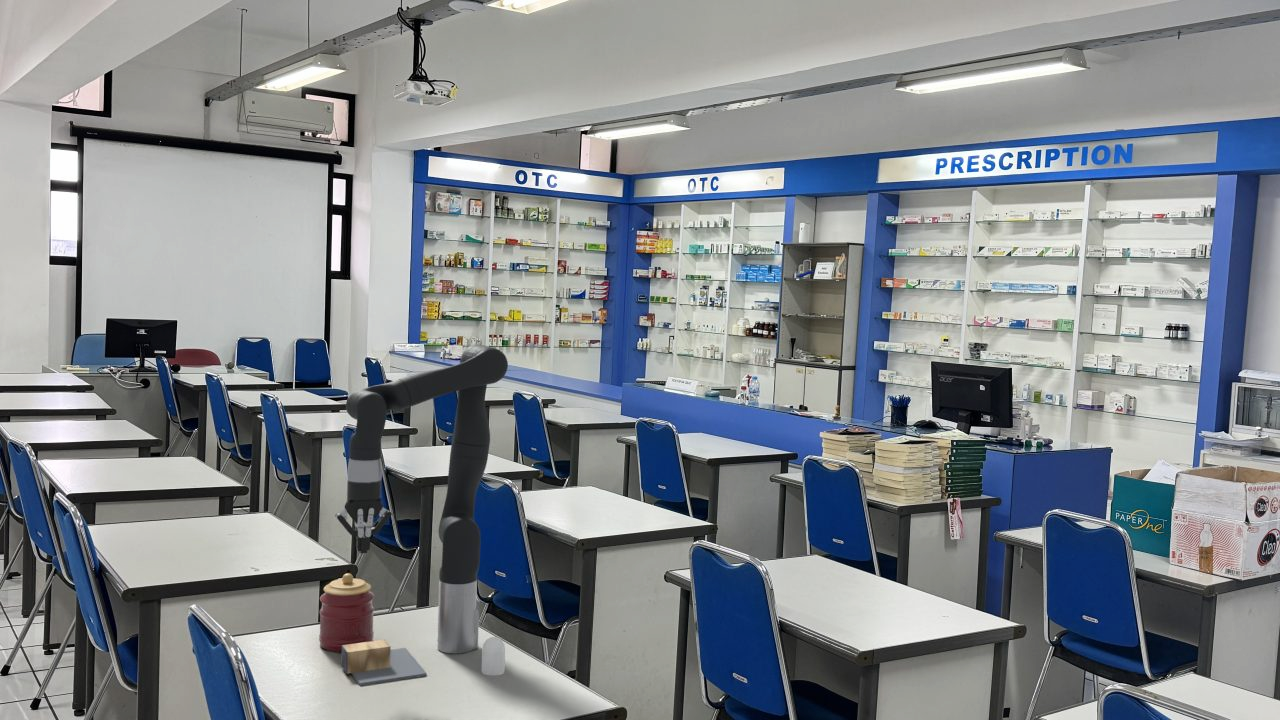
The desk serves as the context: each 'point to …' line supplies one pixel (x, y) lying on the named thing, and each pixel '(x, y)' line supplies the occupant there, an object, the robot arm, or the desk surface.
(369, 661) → the oak block
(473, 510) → the robot arm
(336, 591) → the canister
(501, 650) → the white domed cylinder
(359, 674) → the mat
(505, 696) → the desk surface
